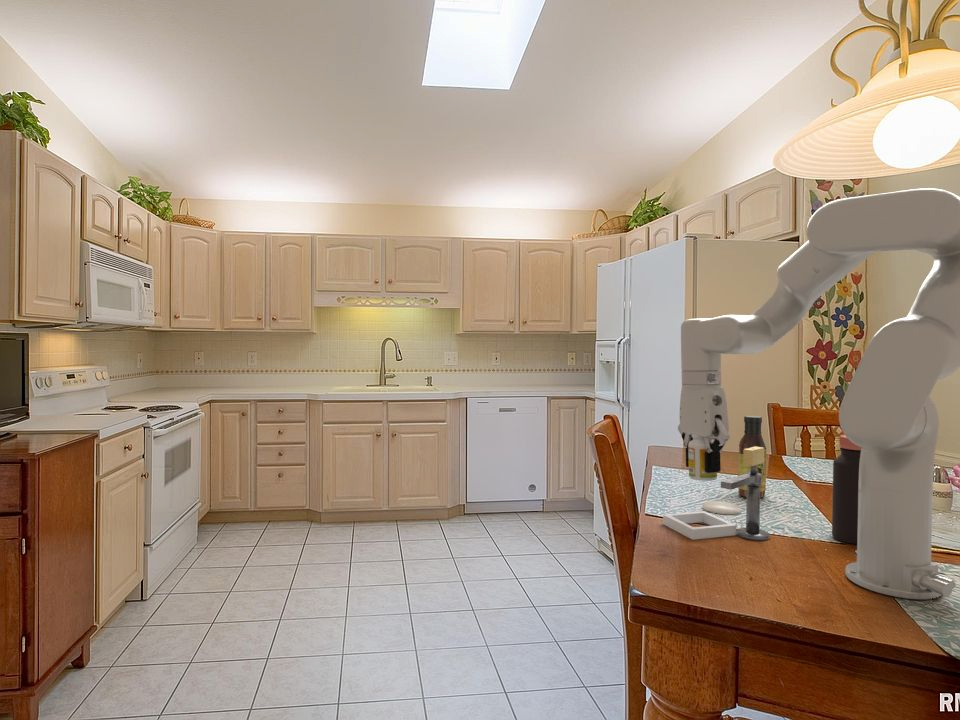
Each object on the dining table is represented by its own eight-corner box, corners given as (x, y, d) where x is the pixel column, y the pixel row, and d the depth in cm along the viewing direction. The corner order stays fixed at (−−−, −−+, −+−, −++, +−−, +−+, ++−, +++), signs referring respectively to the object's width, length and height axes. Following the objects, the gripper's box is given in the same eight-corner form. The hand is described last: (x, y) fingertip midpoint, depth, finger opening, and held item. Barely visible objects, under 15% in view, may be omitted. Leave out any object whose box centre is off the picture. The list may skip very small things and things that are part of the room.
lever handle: (766, 483, 115) (767, 448, 115) (733, 494, 106) (734, 456, 106) (751, 480, 117) (752, 445, 117) (718, 491, 108) (718, 454, 108)
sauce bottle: (762, 500, 140) (763, 418, 139) (734, 496, 144) (736, 416, 143) (768, 495, 145) (769, 416, 144) (741, 491, 149) (742, 414, 148)
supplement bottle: (721, 478, 118) (720, 430, 117) (711, 482, 114) (710, 432, 114) (695, 474, 121) (694, 428, 121) (684, 478, 117) (683, 430, 117)
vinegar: (833, 531, 117) (835, 433, 117) (873, 538, 113) (876, 436, 113) (830, 541, 112) (832, 437, 111) (873, 548, 108) (875, 440, 107)
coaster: (748, 513, 130) (748, 509, 130) (718, 515, 128) (718, 512, 128) (724, 503, 138) (724, 500, 138) (695, 505, 135) (695, 502, 135)
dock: (736, 535, 115) (736, 525, 115) (692, 539, 112) (692, 529, 112) (704, 520, 124) (704, 511, 124) (663, 524, 122) (663, 514, 122)
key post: (776, 539, 113) (777, 488, 112) (750, 541, 111) (751, 490, 111) (754, 529, 118) (755, 480, 118) (729, 532, 117) (730, 482, 116)
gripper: (746, 380, 110) (748, 476, 110) (691, 378, 127) (692, 461, 127) (712, 381, 108) (714, 479, 108) (660, 379, 125) (662, 463, 125)
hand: (702, 468), depth 117 cm, fingers closed on supplement bottle, 5 cm apart
